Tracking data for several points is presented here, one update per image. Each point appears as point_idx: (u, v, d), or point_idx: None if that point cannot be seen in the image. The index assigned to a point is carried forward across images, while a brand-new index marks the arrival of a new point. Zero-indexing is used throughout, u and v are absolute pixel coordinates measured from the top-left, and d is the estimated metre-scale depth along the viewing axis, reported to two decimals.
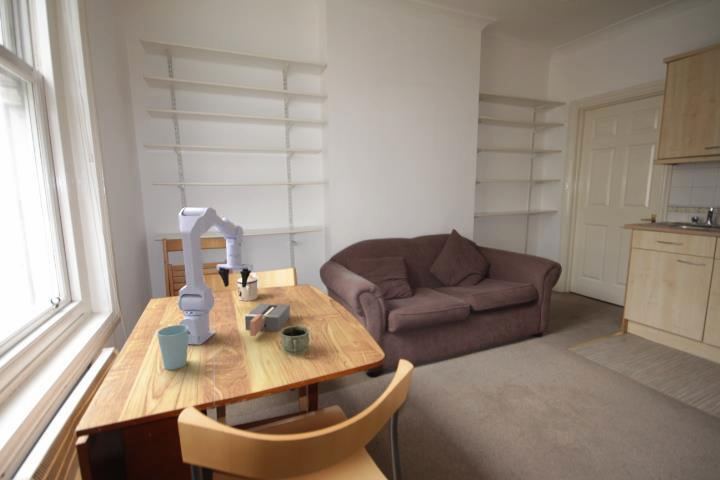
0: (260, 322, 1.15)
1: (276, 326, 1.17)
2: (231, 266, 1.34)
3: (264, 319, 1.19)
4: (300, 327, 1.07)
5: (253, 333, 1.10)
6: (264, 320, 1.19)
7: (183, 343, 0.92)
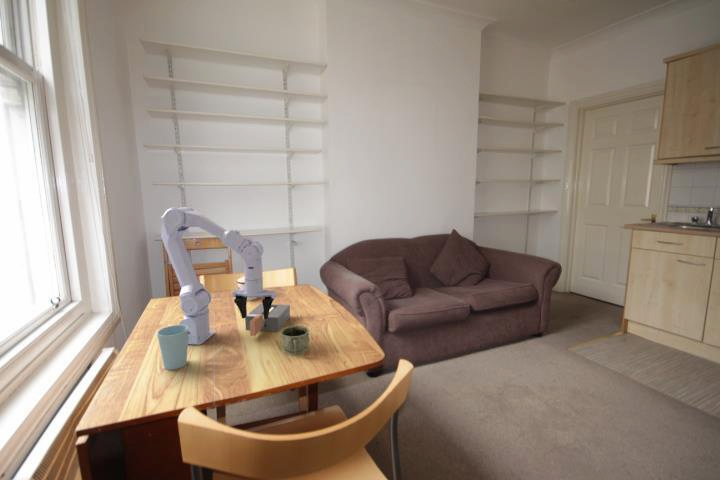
0: (260, 322, 1.15)
1: (276, 326, 1.17)
2: (250, 294, 1.08)
3: (264, 319, 1.19)
4: (300, 327, 1.07)
5: (253, 333, 1.10)
6: (264, 320, 1.19)
7: (183, 343, 0.92)
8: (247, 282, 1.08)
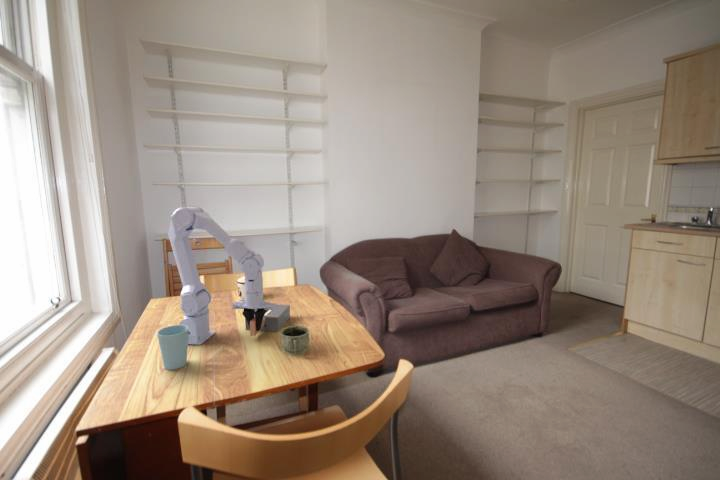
0: None
1: (276, 326, 1.17)
2: (251, 306, 1.08)
3: (264, 319, 1.19)
4: (300, 327, 1.07)
5: (253, 333, 1.10)
6: (264, 320, 1.19)
7: (183, 343, 0.92)
8: (247, 294, 1.08)
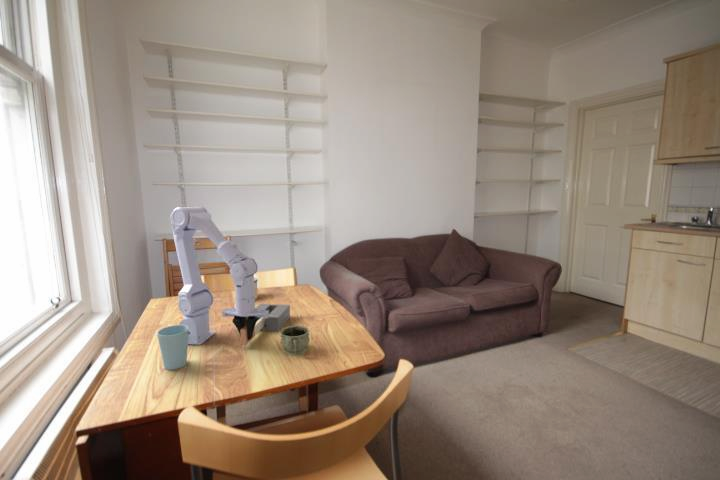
0: None
1: (276, 326, 1.17)
2: (241, 314, 1.01)
3: (256, 327, 1.12)
4: (300, 327, 1.07)
5: (244, 342, 1.03)
6: (256, 328, 1.12)
7: (183, 343, 0.92)
8: (238, 301, 1.01)
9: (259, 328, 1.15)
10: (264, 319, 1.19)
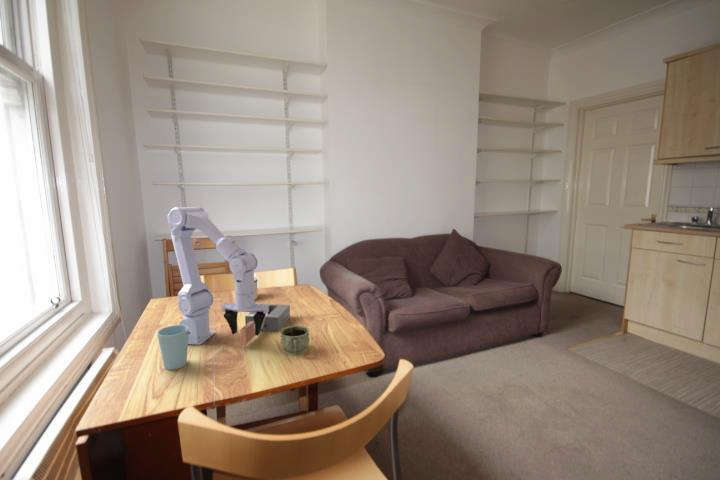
0: (252, 330, 1.08)
1: (276, 326, 1.17)
2: (241, 309, 1.01)
3: None
4: (300, 327, 1.07)
5: (244, 342, 1.03)
6: None
7: (183, 343, 0.92)
8: (238, 296, 1.01)
9: None
10: (264, 319, 1.19)
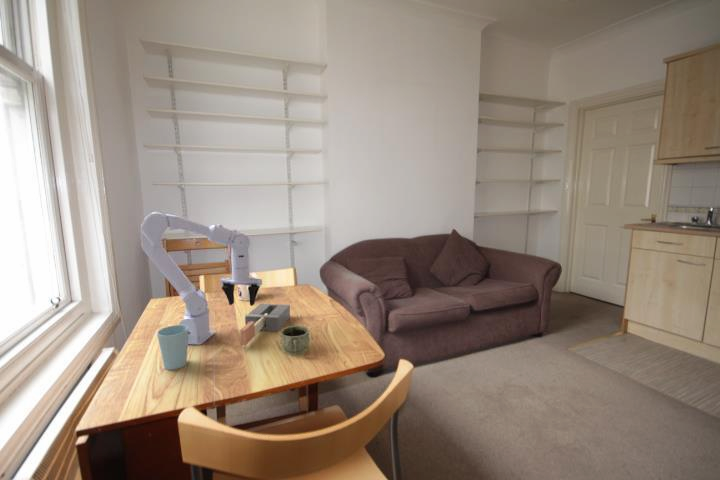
0: (252, 330, 1.08)
1: (276, 326, 1.17)
2: (237, 281, 1.13)
3: (256, 327, 1.12)
4: (300, 327, 1.07)
5: (244, 342, 1.03)
6: (256, 328, 1.12)
7: (183, 343, 0.92)
8: (234, 270, 1.13)
9: (259, 328, 1.15)
10: (264, 319, 1.19)
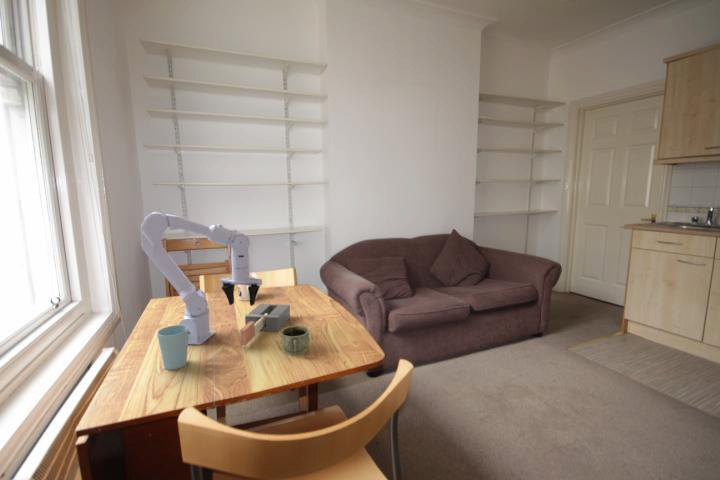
0: (252, 330, 1.08)
1: (276, 326, 1.17)
2: (237, 281, 1.13)
3: (256, 327, 1.12)
4: (300, 327, 1.07)
5: (244, 342, 1.03)
6: (256, 328, 1.12)
7: (183, 343, 0.92)
8: (234, 270, 1.13)
9: (259, 328, 1.15)
10: (264, 319, 1.19)
